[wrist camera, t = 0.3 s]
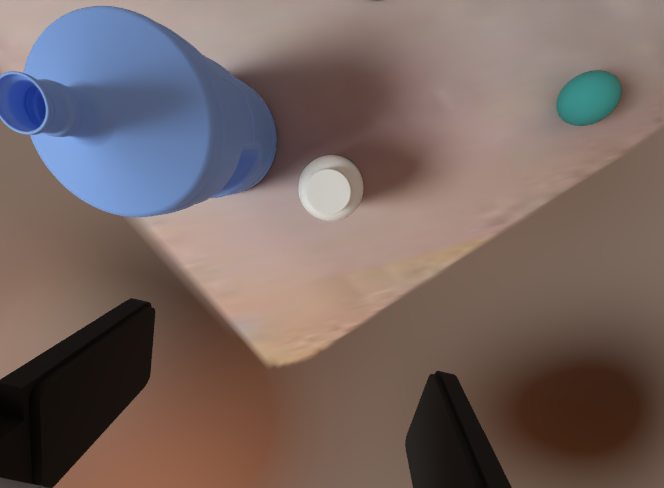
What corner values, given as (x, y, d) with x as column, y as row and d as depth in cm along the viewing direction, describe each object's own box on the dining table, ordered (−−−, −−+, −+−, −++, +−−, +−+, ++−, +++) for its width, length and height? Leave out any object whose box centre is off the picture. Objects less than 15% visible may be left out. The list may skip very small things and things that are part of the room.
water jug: (157, 86, 42) (-181, -43, 15) (268, 69, 41) (110, -105, 14) (184, 199, 46) (-46, 253, 19) (286, 187, 45) (191, 228, 18)
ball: (540, 90, 40) (573, 79, 34) (589, 69, 39) (631, 53, 33) (552, 135, 41) (585, 131, 35) (599, 115, 40) (641, 108, 34)
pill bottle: (341, 144, 43) (337, 138, 30) (371, 188, 44) (380, 199, 31) (299, 176, 44) (278, 183, 31) (329, 217, 46) (321, 241, 33)
